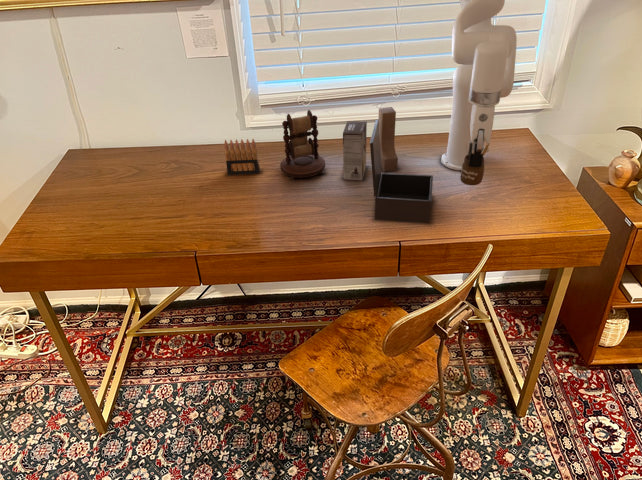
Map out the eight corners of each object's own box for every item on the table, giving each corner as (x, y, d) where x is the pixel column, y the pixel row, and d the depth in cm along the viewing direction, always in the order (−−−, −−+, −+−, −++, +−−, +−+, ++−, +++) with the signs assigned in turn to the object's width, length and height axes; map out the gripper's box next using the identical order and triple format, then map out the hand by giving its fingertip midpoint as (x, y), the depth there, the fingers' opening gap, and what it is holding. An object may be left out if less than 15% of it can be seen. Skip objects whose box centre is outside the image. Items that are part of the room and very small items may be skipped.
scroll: (316, 156, 188) (314, 99, 175) (331, 176, 177) (330, 117, 164) (275, 164, 184) (270, 107, 172) (288, 185, 174) (283, 126, 161)
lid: (378, 119, 152) (375, 119, 152) (373, 142, 141) (369, 142, 142) (381, 171, 162) (378, 171, 162) (376, 196, 151) (373, 196, 151)
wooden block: (397, 170, 178) (400, 117, 166) (384, 171, 177) (386, 119, 166) (389, 157, 185) (392, 106, 173) (376, 159, 184) (378, 107, 173)
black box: (430, 196, 164) (432, 175, 160) (429, 223, 154) (431, 201, 149) (379, 193, 167) (380, 172, 163) (374, 219, 156) (375, 198, 152)
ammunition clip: (227, 174, 181) (222, 141, 173) (228, 172, 182) (222, 138, 174) (259, 173, 180) (255, 139, 173) (260, 170, 182) (256, 137, 174)
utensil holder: (467, 173, 154) (473, 133, 146) (487, 180, 150) (494, 140, 143) (455, 181, 151) (460, 141, 143) (475, 189, 147) (482, 148, 140)
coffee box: (347, 165, 182) (346, 120, 171) (366, 167, 180) (367, 120, 170) (342, 179, 175) (342, 132, 164) (362, 181, 173) (363, 133, 163)
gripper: (503, 109, 128) (490, 177, 140) (498, 82, 141) (487, 147, 153) (470, 108, 130) (460, 176, 141) (468, 82, 143) (459, 146, 154)
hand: (474, 160), depth 147 cm, fingers closed on utensil holder, 5 cm apart
